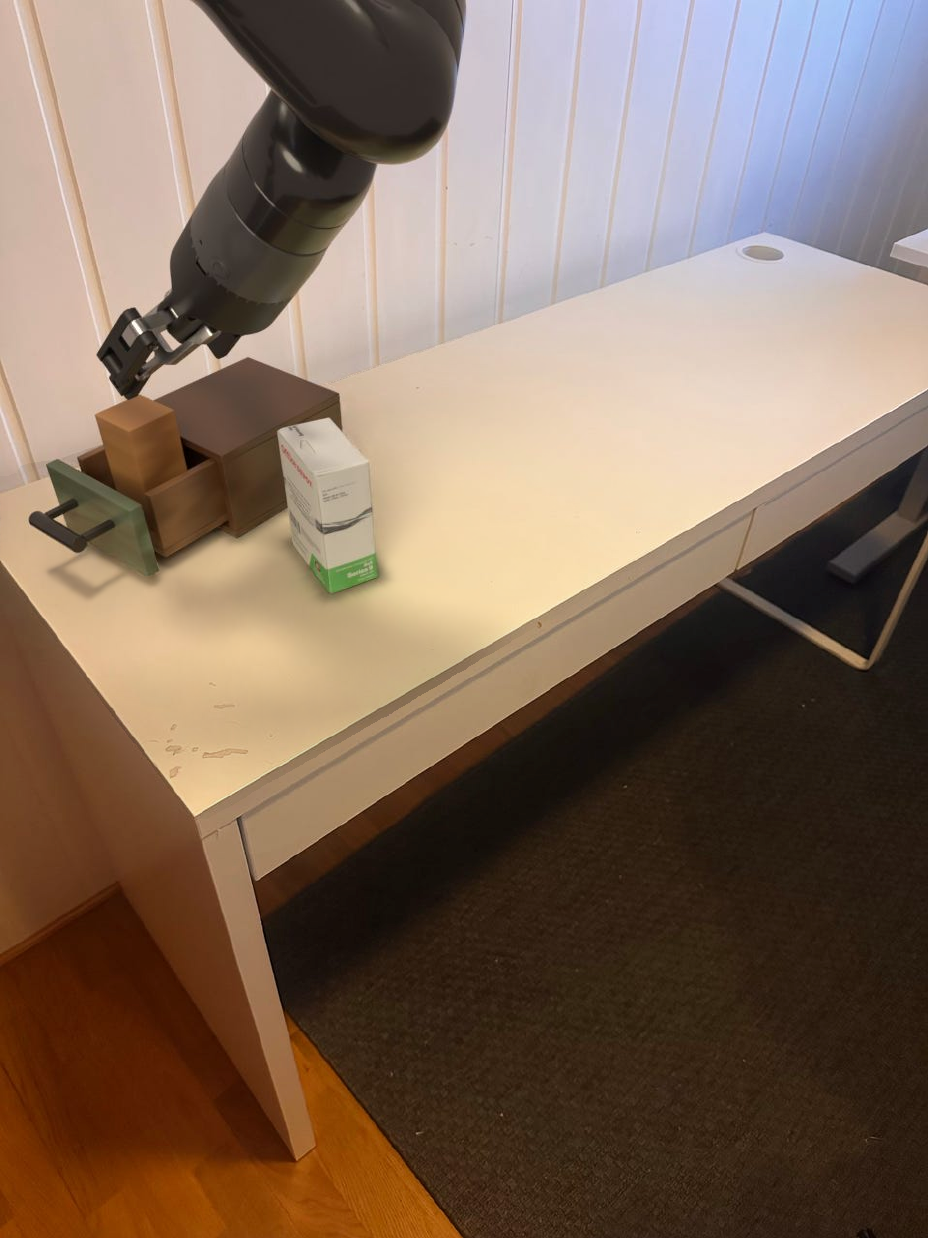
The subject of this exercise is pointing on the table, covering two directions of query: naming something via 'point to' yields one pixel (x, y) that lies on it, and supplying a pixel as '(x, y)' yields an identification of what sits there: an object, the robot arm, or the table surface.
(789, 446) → the table surface
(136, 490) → the brown wooden block
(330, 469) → the ink box
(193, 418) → the cabinet
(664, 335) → the table surface
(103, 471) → the drawer
